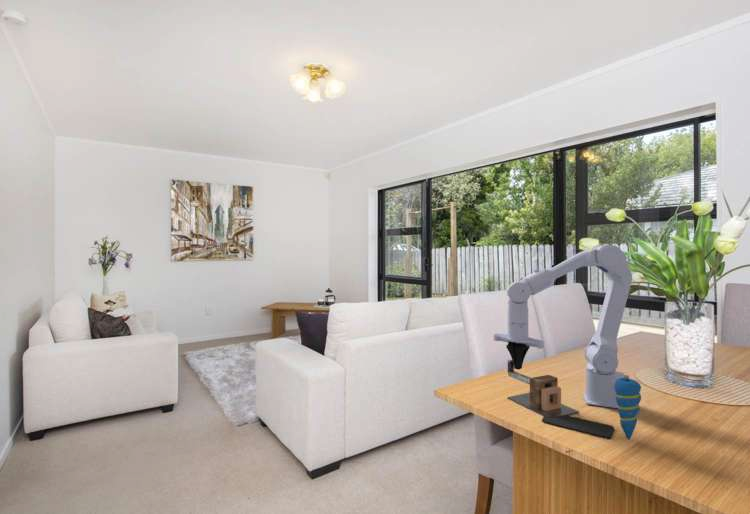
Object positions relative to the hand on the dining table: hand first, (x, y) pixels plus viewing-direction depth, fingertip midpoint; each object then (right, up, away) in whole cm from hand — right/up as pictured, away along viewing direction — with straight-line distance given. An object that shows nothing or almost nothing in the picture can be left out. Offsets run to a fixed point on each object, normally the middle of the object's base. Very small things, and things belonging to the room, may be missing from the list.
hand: (518, 368), depth 115 cm
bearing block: (+4, -8, -9) cm, 12 cm away
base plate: (+3, -8, -8) cm, 12 cm away
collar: (+5, -8, -11) cm, 14 cm away
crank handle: (+1, -3, -2) cm, 4 cm away
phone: (+7, -9, -20) cm, 23 cm away
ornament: (+15, -8, -27) cm, 32 cm away
